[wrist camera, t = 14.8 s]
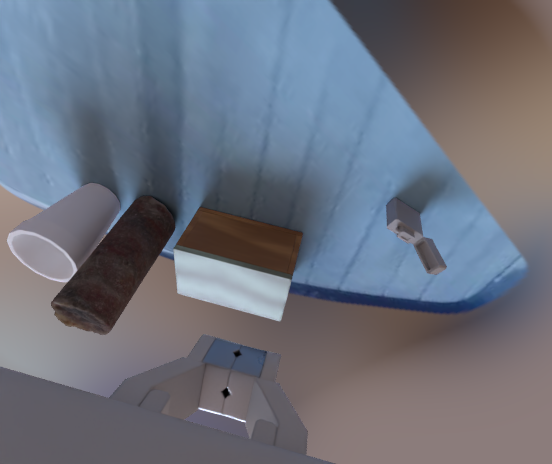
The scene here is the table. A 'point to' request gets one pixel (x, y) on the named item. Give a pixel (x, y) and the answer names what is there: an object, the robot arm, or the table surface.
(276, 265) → the box
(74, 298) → the dark brown rough cylinder
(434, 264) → the lighter
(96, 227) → the foam cup
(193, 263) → the pale green flat panel
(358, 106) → the table surface
